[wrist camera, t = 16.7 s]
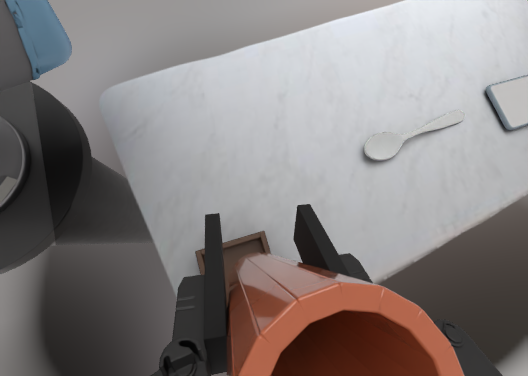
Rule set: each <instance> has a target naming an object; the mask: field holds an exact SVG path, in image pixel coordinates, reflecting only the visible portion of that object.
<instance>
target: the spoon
mask: <svg viewBox="0 0 528 376" xmlns="http://www.w3.org/2000/svg"><path fill="white" fill-rule="evenodd" d="M464 118H465V114H464V112H462V111H460V110H454V111H452V112H450V113H448V114H445V115H443V116H441V117H439V118H437V119H435V120H433V121H431V122H430V123H428V124H426V125H425V126H423V127H421V128H419V129H417V130H414V131H412V132H409V133H405V134H395V133H391V132H382V133H378V134H376V135H374V136H372V137H371V138H369V139H368V141H367V142H366V143H365V147H364V151H365V154H366V155H367V156H368V157H370V158H371V159H374V160H387V159H390V158H392V157H393V156H395V155H396V154H397V152H398V151H399V149H400V147H401V145H402V144H403V142H404V141H405V140H406V139H408V138H410V137H412V136H414V135H417V134H420V133H423V132H426V131H431V130H436V129H440V128H444V127H447V126H450V125H453V124H456V123H459V122H461V121H463V120H464Z"/></svg>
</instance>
